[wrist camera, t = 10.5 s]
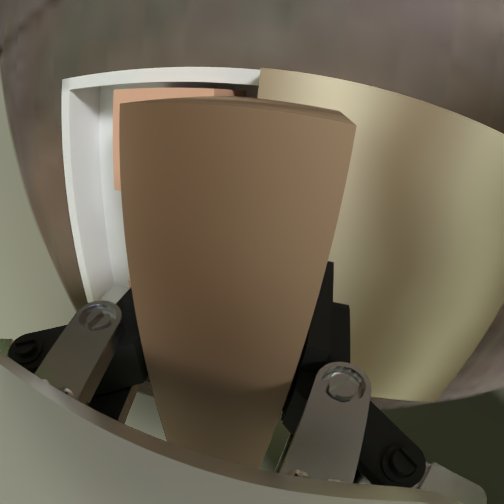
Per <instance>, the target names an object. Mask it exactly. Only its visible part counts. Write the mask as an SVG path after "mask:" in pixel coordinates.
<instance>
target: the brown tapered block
mask: <svg viewBox="0 0 504 504" xmlns="http://www.w3.org/2000/svg"><path fill="white" fill-rule="evenodd" d="M356 126H357V125H356V124H354V123H353V122H352V121H351V120H350V119H349V118H347V117H346V116H345V115H344V114H342V113H341V112H340V111H338V110H333V109H327V108H322V107H316V106H310V105H304V104H298V103H291V102H284V101H276V100H268V99H259V98H250V97H238V96H203V97H182V98H167V99H155V100H145V101H136V102H128V103H120V112H119V152H120V180H121V198H122V211H123V223H124V234H125V243H126V252H127V260H128V268H129V275H130V282H131V289H132V295H133V301H134V307H135V313H136V318H137V324H138V329H139V334H140V339H141V344H142V348H143V353H144V358H145V362H146V366H147V371H148V375H149V379H150V383H151V387H152V391H153V394H154V398H155V402H156V406H157V409H158V412H159V416H160V419H161V423H162V426H163V430H164V433H165V436H166V439H167V442H169V443H171V444H174V445H177V446H180V447H183V448H186V449H189V450H192V451H195V452H198V453H201V454H204V455H207V456H210V457H214V458H217V459H221V460H224V461H228V462H232V463H235V464H239V465H243V466H247V467H252V468H256V469H259V468H260V466H261V463H262V461H263V458H264V456H265V453H266V451H267V448H268V446H269V443H270V440H271V438H272V435H273V433H274V430H275V427H276V425H277V422H278V419H279V417H280V414H281V411H282V408H283V406H284V403H285V400H286V397H287V394H288V391H289V389H290V386H291V383H292V380H293V377H294V374H295V371H296V368H297V365H298V362H299V359H300V355H301V352H302V349H303V346H304V343H305V339H306V336H307V333H308V330H309V326H310V323H311V320H312V316H313V313H314V309H315V306H316V302H317V299H318V295H319V292H320V288H321V284H322V281H323V277H324V273H325V269H326V266H327V262H328V258H329V254H330V250H331V246H332V242H333V238H334V234H335V229H336V225H337V221H338V217H339V212H340V208H341V203H342V199H343V194H344V189H345V184H346V180H347V175H348V170H349V165H350V159H351V154H352V149H353V143H354V138H355V132H356Z"/></svg>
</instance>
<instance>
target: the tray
mask: <svg viewBox="0 0 504 504" xmlns="http://www.w3.org/2000/svg"><path fill="white" fill-rule="evenodd" d="M259 79H260V70H255V69H241V68H221V67H168V68H148V69H134V70H124V71H114V72H106V73H98V74H91V75H85V76H79V77H73V78H68V79H62V142H63V159H64V171H65V182H66V191H67V199H68V207H69V214H70V220H71V227H72V233H73V238H74V244H75V249H76V254H77V259H78V264H79V268H80V273H81V277H82V281H83V285H84V290H85V294H86V297H87V301H88V303H90V302H93V301H100V300H103V301H110V302H112V303H115V304H116V303H117V302H118V301H119V300H120V299H121V297H122V296H123V295H124V294H125V293H126V292H127V291H128V290H129V289H130V288H129V282H128V279H129V278H130V275H129V268H128V260H127V252H126V243H125V234H124V223H123V211H122V198H121V191H120V190H115V188H114V167H113V94H114V90H117V89H133V88H159V87H187V88H215V89H231V90H244V91H246V97H250V98H257V97H258V88H259Z"/></svg>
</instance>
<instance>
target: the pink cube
mask: <svg viewBox="0 0 504 504" xmlns="http://www.w3.org/2000/svg"><path fill="white" fill-rule="evenodd" d="M203 96H238V97H246V91H244V90H231V89H215V88H187V87H159V88H133V89H117V90H114V94H113V167H114V188H115V190H120V191H121V180H120V152H119V112H120V103H128V102H136V101H145V100H155V99H167V98H182V97H203Z"/></svg>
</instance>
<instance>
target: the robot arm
mask: <svg viewBox="0 0 504 504" xmlns="http://www.w3.org/2000/svg"><path fill="white" fill-rule="evenodd" d="M333 284H334V262H331V261H328V262H327V266H326V269H325V273H324V277H323V281H322V284H321V288H320V292H319V295H318V299H317V302H316V306H315V309H314V313H313V316H312V320H311V323H310V326H309V330H308V333H307V336H306V339H305V343H304V346H303V349H302V352H301V355H300V359H299V362H298V365H297V368H296V371H295V374H294V377H293V380H292V383H291V386H290V389H289V391H288V394H287V397H286V400H285V403H284V406H283V408H282V411H283V413H282V418H281V420H283V424H284V425H285V427H286V428H287V429H288V431H289V432H290V436H289V438H288V440H287V443H286V445H285V448H284V450H283V453H282V455H281V458H280V460H279V462H278V465H277V467H276V469H275V472H270V471H265V470H260V469H256V468H252V467H247V466H243V465H239V464H235V463H232V462H228V461H224V460H221V459H217V458H214V457H210V456H207V455H204V454H201V453H198V452H195V451H192V450H189V449H186V448H183V447H180V446H177V445H174V444H171V443H169V442H166V441H163V440H161V439H158V438H155V437H153V436H151V435H148V434H145V433H143V432H141V431H139V430H136V429H134V428H132V427H129V426H127V425H125V424H124V423H125V421H126V418H127V415H128V413H129V410H130V408H131V405H132V403H133V400H134V398H135V395H136V393H137V390H138V387H139V384H141V383H144V381H148V382H150V379H149V375H148V371H147V366H146V362H145V358H144V353H143V348H142V344H141V339H140V334H139V329H138V324H137V318H136V313H135V307H134V301H133V295H132V289H131V288H130V289H129V290H128V291H127V292H126V293H125V294H124V295H123V296H122V297H121V299H120V300H119V301H118V302H117V303H116V304H115V303H112V302H110V301H103V300H100V301H93V302H90V303H88V304H86V305H84V306H83V307H81V308H80V309H79V310H78V311H77V313H76V314H75V315H74V317H73V318H72V320H71V321H70V322H69V324H68V325H65V326H61V327H56V328H52V329H47V330H42V331H38V332H33V333H28V334H25V335H22V336H20V337H19V338H17V339H16V340H15V341H13V339H0V504H486V503H487V500H486V494H485V492H484V490H483V489H482V488H481V487H480V486H478V485H477V484H475V483H473V482H471V481H469V480H467V479H465V478H463V477H461V476H459V475H457V474H455V473H453V472H451V471H449V470H447V469H446V468H444V467H442V466H440V465H438V464H437V463H435V462H433V463H432V464H431V465H430V464H429V463H427V462H426V460H425V457H424V455H423V452H422V451H421V450H420V449H419V447H418V446H416V445H415V444H414V443H413V442H412V441H411V440H410V439H409V438H408V437H407V436H406V435H405V434H404V433H403V432H402V431H401V430H400V429H399V428H398V427H397V426H396V425H394V423H393V422H392V421H390V420H389V419H388V418H387V417H386V416H385V415H384V414H383V413H382V412H381V411H380V410H379V409H378V408H377V407H376V406H375V405H374V404H373V403H372V402H371V401H370V397H371V382H370V380H369V378H368V376H367V375H366V374H365V372H364V371H363V370H361V369H360V368H358V367H357V366H355V365H353V364H350V307H349V305H346V304H341V303H336V302H333Z"/></svg>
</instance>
